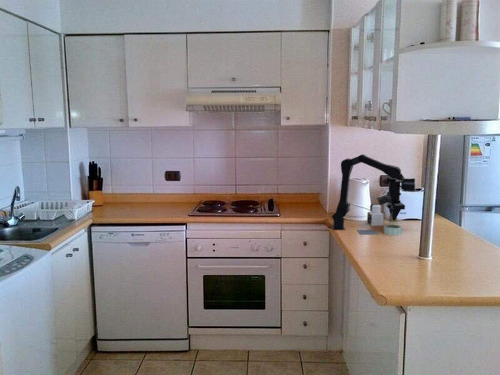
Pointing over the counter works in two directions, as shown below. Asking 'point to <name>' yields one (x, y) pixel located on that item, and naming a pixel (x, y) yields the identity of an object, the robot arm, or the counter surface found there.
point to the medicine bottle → (375, 215)
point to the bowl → (392, 229)
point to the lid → (390, 220)
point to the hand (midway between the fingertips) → (393, 219)
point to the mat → (367, 232)
